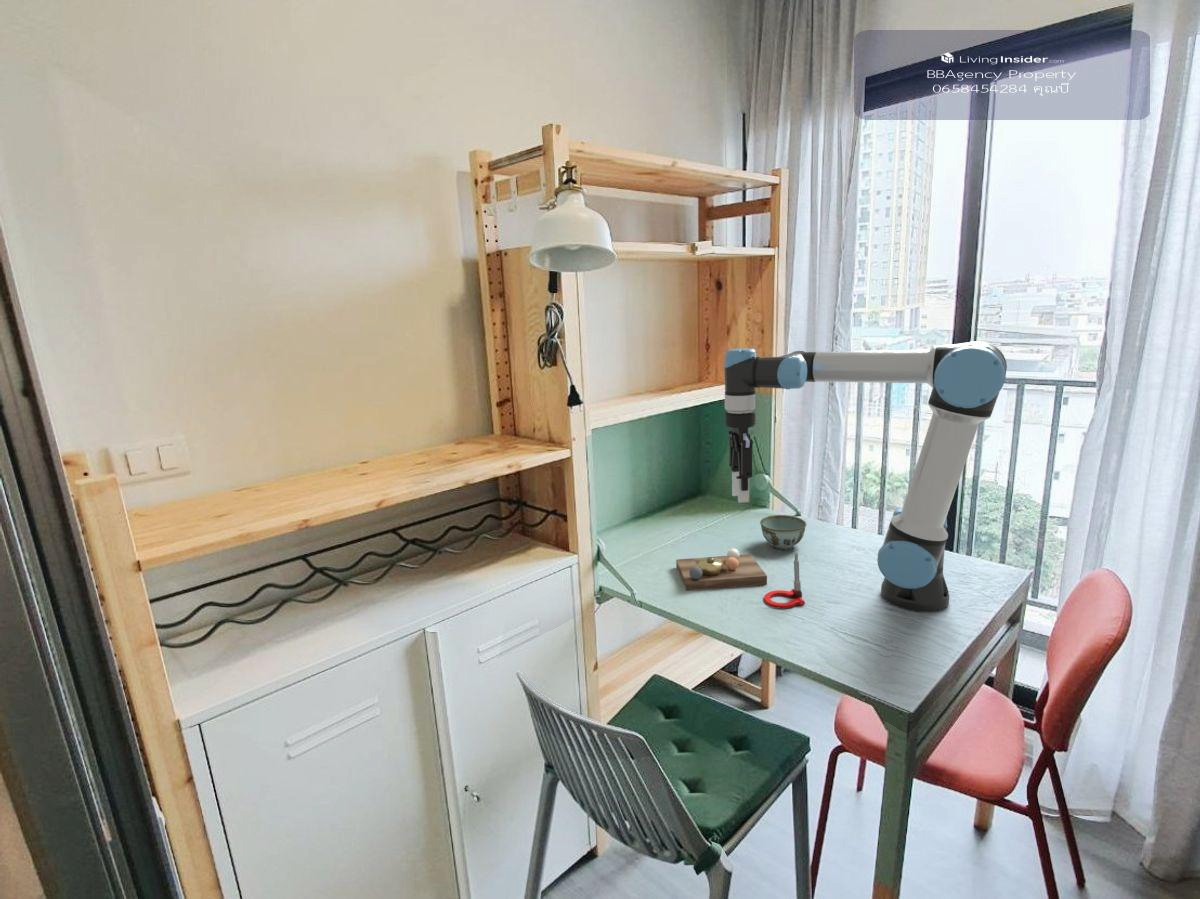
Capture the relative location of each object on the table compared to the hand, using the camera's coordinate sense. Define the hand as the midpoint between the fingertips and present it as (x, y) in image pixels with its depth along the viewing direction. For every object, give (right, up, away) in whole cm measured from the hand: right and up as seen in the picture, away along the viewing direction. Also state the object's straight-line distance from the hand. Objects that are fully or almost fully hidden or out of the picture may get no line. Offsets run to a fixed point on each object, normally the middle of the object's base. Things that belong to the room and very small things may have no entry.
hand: (740, 498), depth 157 cm
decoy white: (+2, -17, +15) cm, 23 cm away
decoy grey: (-11, -20, +5) cm, 24 cm away
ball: (0, -19, +9) cm, 21 cm away
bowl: (+20, -18, +30) cm, 40 cm away
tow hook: (+10, -26, -4) cm, 28 cm away
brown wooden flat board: (-3, -23, +12) cm, 26 cm away
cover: (-6, -21, +10) cm, 24 cm away
